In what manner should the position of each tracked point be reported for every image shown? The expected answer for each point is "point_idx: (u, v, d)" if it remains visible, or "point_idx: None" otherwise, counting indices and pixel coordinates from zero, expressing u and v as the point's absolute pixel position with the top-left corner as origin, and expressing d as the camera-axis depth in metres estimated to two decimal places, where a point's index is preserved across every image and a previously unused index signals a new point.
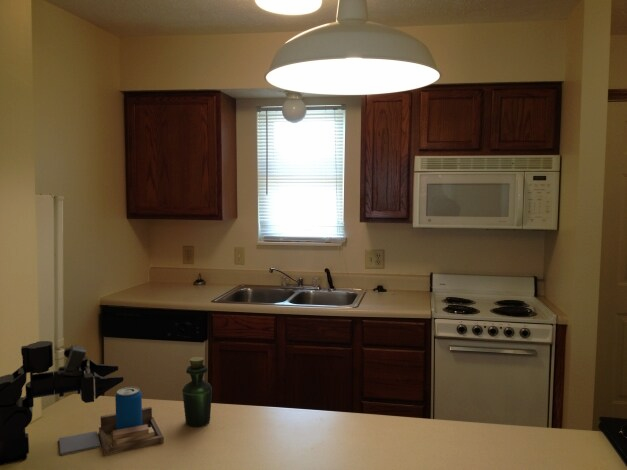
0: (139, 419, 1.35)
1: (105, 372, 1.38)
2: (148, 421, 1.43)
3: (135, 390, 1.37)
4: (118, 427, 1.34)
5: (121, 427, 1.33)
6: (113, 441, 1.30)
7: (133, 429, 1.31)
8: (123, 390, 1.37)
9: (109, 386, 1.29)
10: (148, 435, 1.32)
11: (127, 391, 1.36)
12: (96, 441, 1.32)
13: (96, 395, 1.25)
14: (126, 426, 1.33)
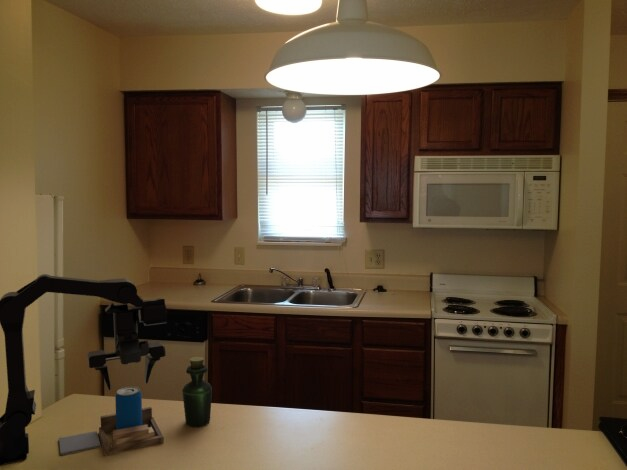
0: (139, 419, 1.35)
1: (145, 370, 1.38)
2: (148, 421, 1.43)
3: (135, 390, 1.37)
4: (118, 427, 1.34)
5: (121, 427, 1.33)
6: (113, 441, 1.30)
7: (133, 429, 1.31)
8: (123, 390, 1.37)
9: None
10: (148, 435, 1.32)
11: (127, 391, 1.36)
12: (96, 441, 1.32)
13: None
14: (126, 426, 1.33)
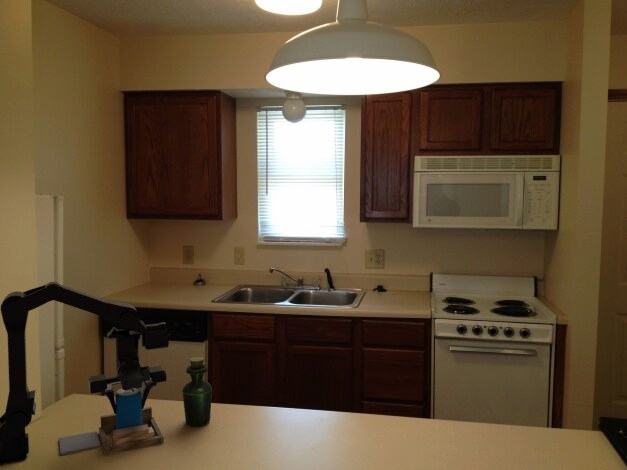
0: (139, 419, 1.35)
1: None
2: (148, 421, 1.43)
3: (135, 390, 1.37)
4: (118, 427, 1.34)
5: (121, 427, 1.33)
6: (113, 441, 1.30)
7: (133, 429, 1.31)
8: (123, 390, 1.37)
9: None
10: (148, 435, 1.32)
11: (127, 391, 1.36)
12: (96, 441, 1.32)
13: None
14: (126, 425, 1.33)
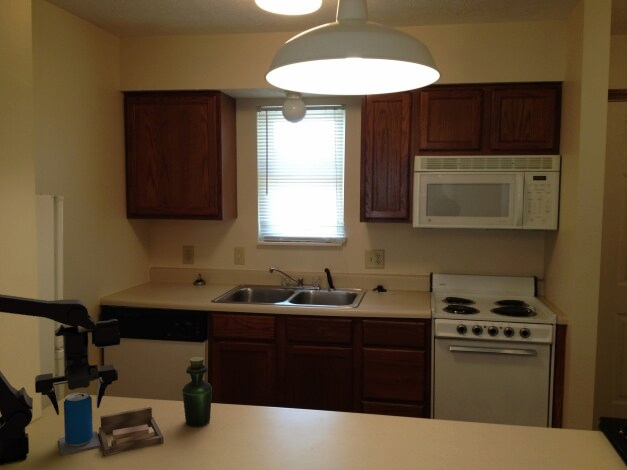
0: (88, 425, 1.30)
1: (97, 394, 1.34)
2: (148, 421, 1.43)
3: (85, 395, 1.32)
4: (66, 434, 1.29)
5: (69, 434, 1.28)
6: (113, 441, 1.30)
7: (133, 429, 1.31)
8: (73, 395, 1.32)
9: None
10: (148, 435, 1.32)
11: (76, 396, 1.31)
12: (96, 441, 1.32)
13: None
14: (74, 432, 1.28)
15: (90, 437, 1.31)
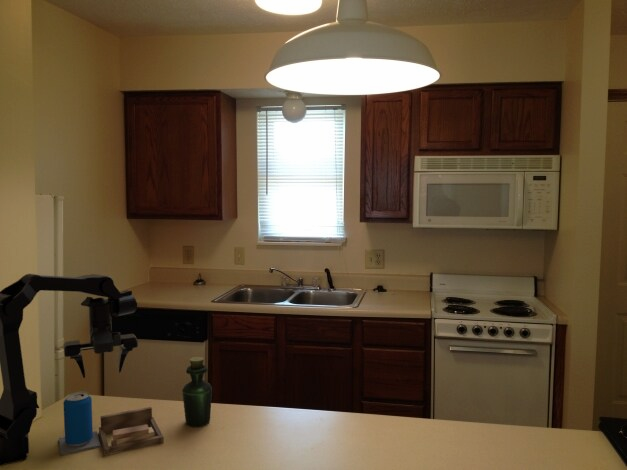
0: (88, 425, 1.30)
1: (119, 360, 1.47)
2: (148, 421, 1.43)
3: (85, 395, 1.32)
4: (66, 434, 1.29)
5: (69, 434, 1.28)
6: (113, 441, 1.30)
7: (133, 429, 1.31)
8: (72, 395, 1.32)
9: None
10: (148, 435, 1.32)
11: (76, 396, 1.31)
12: (96, 441, 1.32)
13: None
14: (74, 432, 1.28)
15: (90, 437, 1.31)
